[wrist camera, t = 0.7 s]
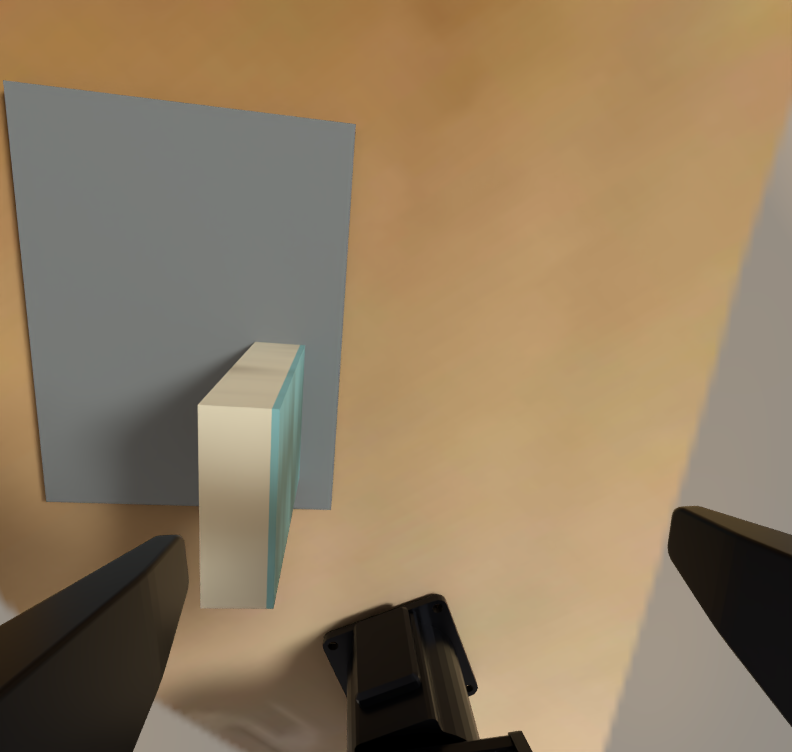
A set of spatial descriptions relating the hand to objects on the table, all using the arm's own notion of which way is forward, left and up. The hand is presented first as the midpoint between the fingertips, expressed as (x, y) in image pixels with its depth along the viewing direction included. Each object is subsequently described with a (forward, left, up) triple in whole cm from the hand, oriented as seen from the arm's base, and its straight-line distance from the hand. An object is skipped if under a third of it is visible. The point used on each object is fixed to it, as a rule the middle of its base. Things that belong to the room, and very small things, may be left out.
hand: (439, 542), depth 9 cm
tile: (0, +5, -12) cm, 13 cm away
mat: (+4, +7, -13) cm, 15 cm away
